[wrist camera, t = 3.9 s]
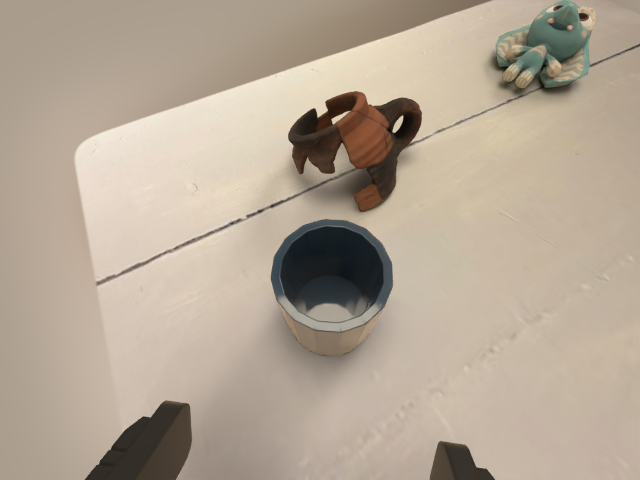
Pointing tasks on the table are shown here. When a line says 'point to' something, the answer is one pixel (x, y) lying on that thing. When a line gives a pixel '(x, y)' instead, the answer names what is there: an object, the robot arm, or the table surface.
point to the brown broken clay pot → (357, 140)
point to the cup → (331, 284)
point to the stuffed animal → (549, 46)
